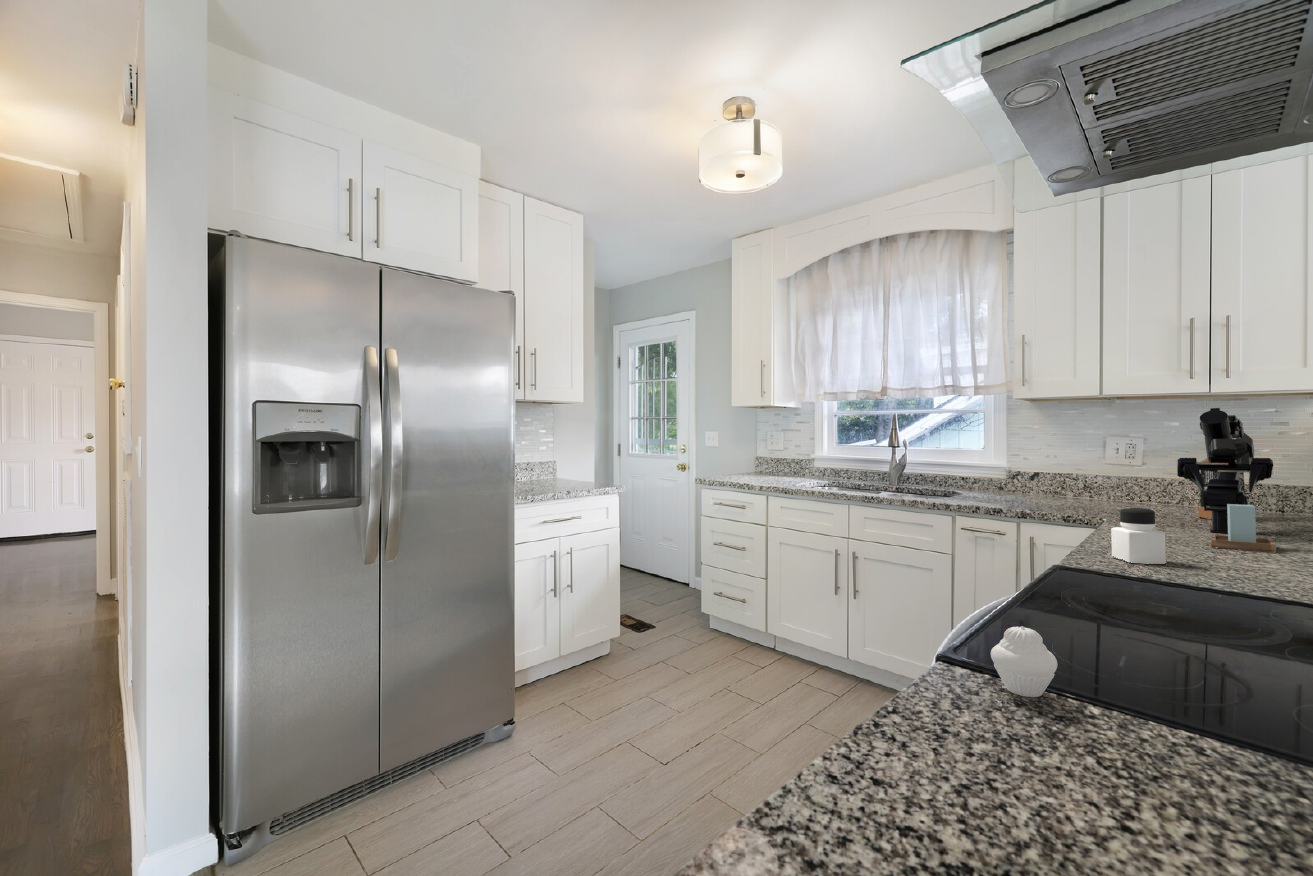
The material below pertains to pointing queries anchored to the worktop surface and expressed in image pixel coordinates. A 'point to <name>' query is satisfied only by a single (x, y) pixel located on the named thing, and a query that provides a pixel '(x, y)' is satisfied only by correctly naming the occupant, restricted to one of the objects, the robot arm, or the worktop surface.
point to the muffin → (1024, 662)
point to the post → (1241, 523)
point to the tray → (1244, 544)
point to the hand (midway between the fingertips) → (1226, 490)
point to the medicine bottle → (1138, 537)
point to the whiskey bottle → (1206, 477)
